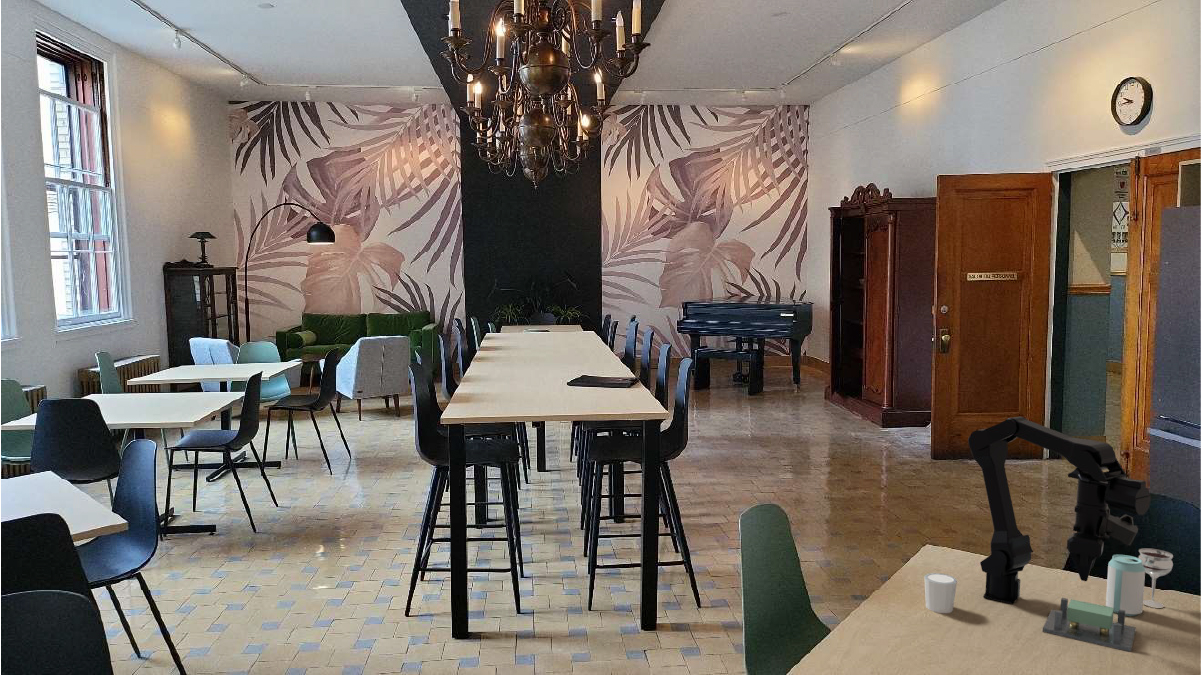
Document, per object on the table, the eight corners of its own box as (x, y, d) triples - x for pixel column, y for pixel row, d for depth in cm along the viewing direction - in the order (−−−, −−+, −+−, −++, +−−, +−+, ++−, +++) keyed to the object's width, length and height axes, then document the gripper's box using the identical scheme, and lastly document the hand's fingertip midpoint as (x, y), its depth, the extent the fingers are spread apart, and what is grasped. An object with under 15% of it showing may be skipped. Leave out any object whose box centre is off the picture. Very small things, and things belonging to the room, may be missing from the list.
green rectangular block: (1066, 620, 185) (1067, 607, 185) (1070, 611, 190) (1071, 599, 189) (1110, 629, 180) (1111, 616, 180) (1112, 620, 185) (1113, 607, 185)
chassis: (1042, 631, 185) (1043, 611, 184) (1051, 612, 195) (1052, 593, 194) (1130, 651, 176) (1132, 630, 175) (1135, 631, 186) (1136, 611, 185)
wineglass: (1170, 612, 195) (1174, 560, 194) (1135, 606, 199) (1138, 554, 198) (1169, 602, 201) (1173, 551, 200) (1134, 596, 204) (1138, 546, 203)
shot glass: (922, 611, 195) (923, 581, 194) (923, 600, 201) (924, 570, 201) (955, 616, 193) (957, 585, 192) (955, 604, 199) (957, 575, 198)
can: (1115, 602, 201) (1119, 551, 200) (1148, 612, 195) (1151, 560, 194) (1099, 608, 197) (1102, 557, 196) (1132, 619, 191) (1135, 566, 190)
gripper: (1132, 520, 172) (1126, 597, 173) (1140, 498, 187) (1135, 569, 188) (1068, 510, 178) (1064, 584, 180) (1081, 490, 193) (1076, 558, 195)
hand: (1086, 574), depth 186 cm, fingers open, 9 cm apart
